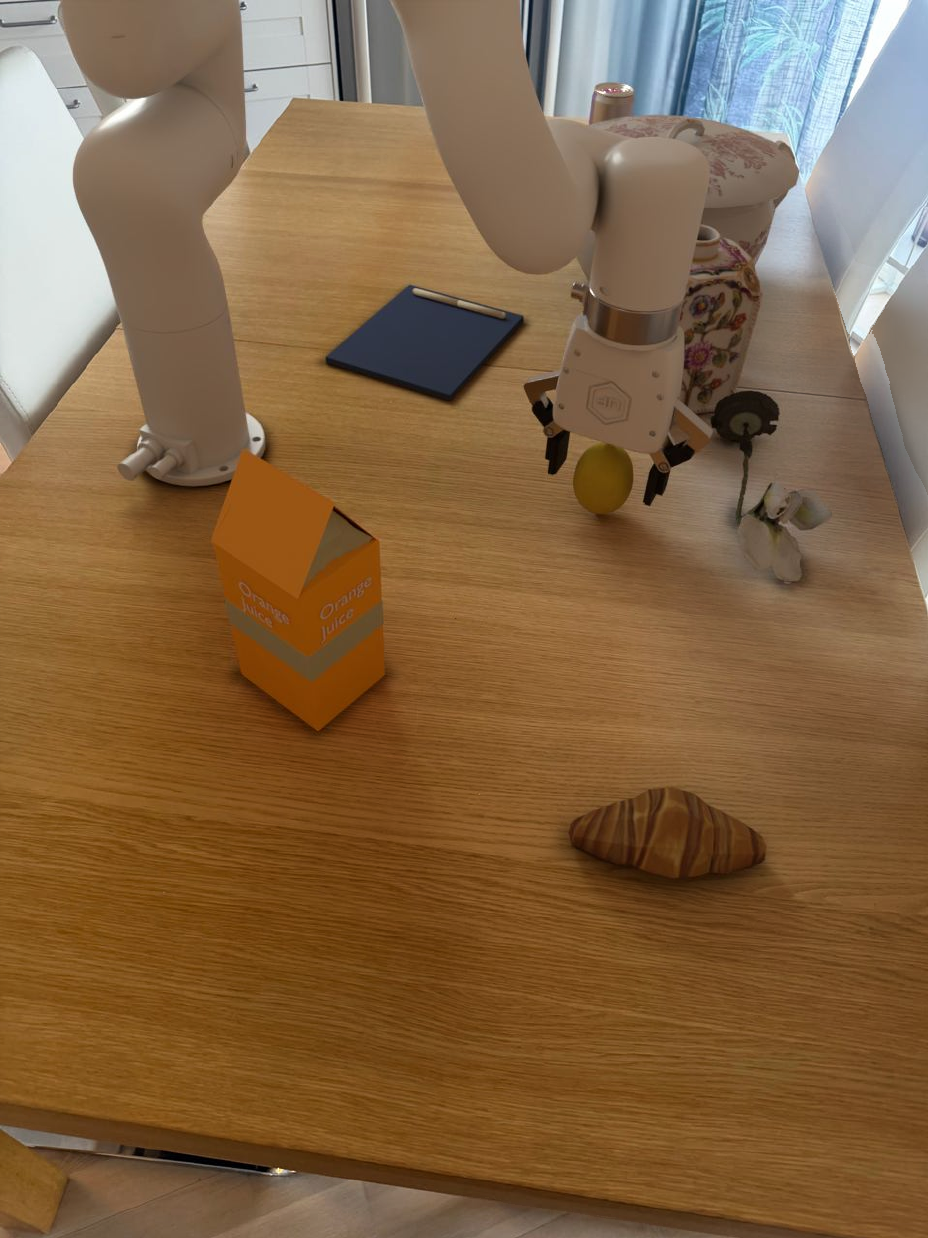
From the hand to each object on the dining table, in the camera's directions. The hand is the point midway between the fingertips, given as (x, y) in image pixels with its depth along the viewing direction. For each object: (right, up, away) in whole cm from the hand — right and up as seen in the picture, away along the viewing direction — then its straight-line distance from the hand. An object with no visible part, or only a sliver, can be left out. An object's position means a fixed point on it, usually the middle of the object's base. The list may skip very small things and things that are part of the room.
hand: (603, 481), depth 87 cm
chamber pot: (+12, +30, +34) cm, 47 cm away
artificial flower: (+16, -2, +4) cm, 16 cm away
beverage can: (+8, +51, +54) cm, 75 cm away
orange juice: (-25, -17, -12) cm, 33 cm away
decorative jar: (+10, +13, +18) cm, 24 cm away
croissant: (+1, -29, -22) cm, 36 cm away
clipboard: (-17, +20, +24) cm, 36 cm away
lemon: (0, -3, +3) cm, 4 cm away
